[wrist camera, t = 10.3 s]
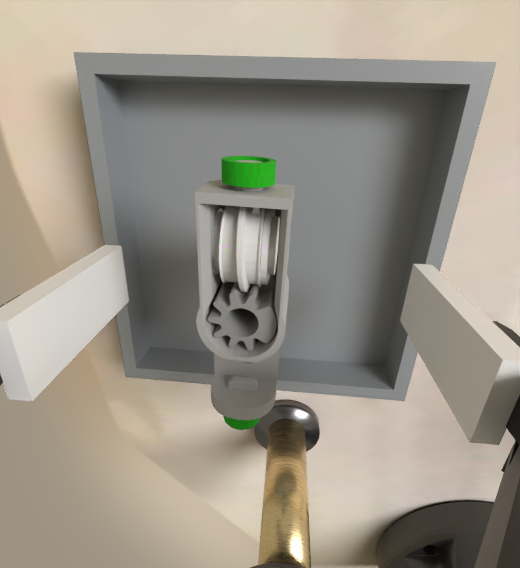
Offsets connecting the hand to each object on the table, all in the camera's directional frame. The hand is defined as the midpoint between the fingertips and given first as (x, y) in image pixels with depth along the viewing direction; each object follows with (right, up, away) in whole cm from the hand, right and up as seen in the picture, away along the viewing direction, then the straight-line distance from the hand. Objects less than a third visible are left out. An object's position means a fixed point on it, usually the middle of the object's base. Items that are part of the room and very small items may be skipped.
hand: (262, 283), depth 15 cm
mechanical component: (0, +3, +5) cm, 6 cm away
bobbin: (+2, -11, +12) cm, 16 cm away
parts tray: (+1, +3, +6) cm, 7 cm away
